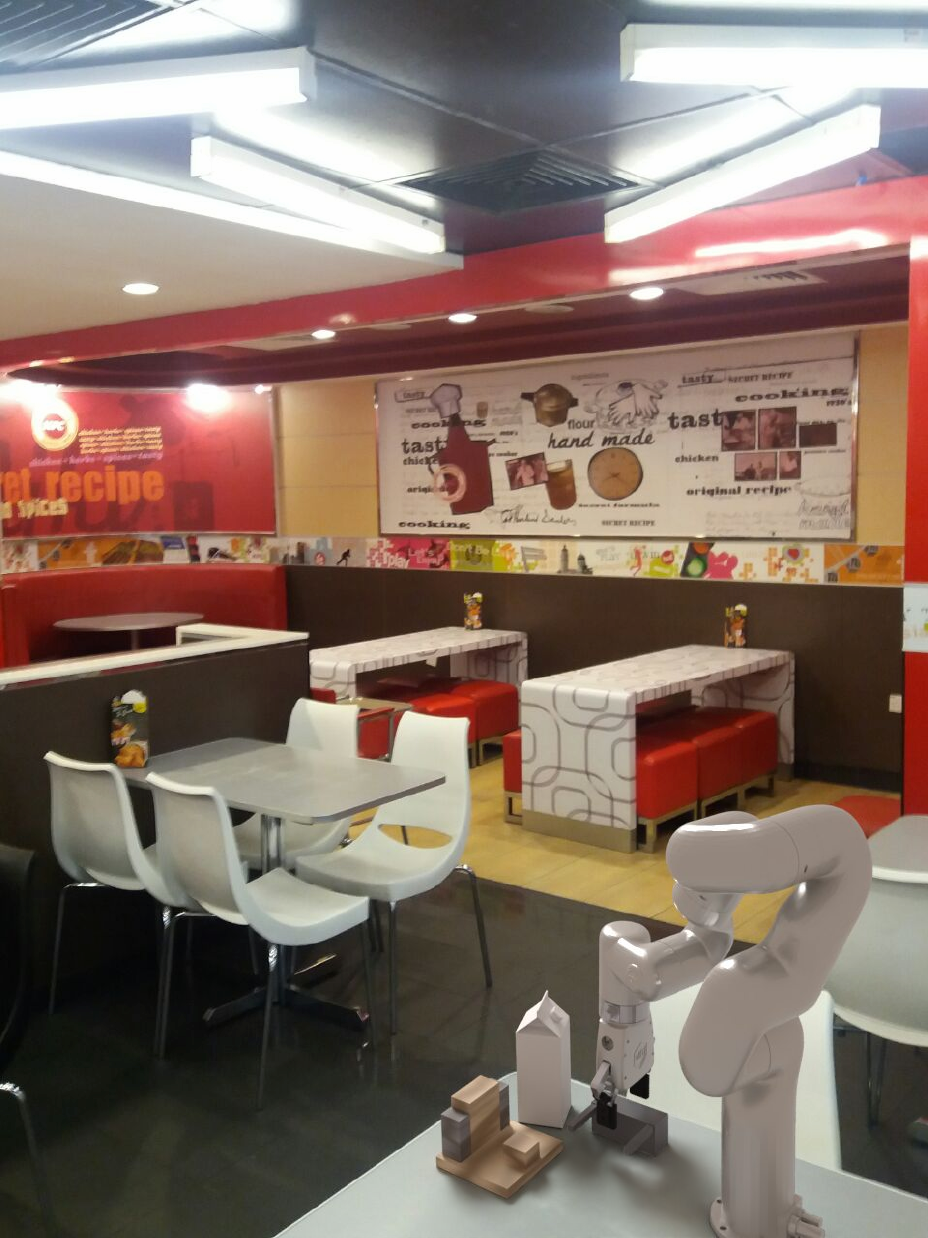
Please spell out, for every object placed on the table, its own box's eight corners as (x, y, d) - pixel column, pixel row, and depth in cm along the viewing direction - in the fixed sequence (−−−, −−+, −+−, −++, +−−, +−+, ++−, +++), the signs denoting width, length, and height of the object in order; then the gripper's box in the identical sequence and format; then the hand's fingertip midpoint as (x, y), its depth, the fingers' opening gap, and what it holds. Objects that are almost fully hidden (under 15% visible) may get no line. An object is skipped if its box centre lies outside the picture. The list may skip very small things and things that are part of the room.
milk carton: (517, 1123, 176) (514, 1008, 174) (528, 1099, 183) (525, 988, 180) (562, 1129, 174) (560, 1013, 171) (571, 1104, 181) (569, 992, 178)
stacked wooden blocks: (562, 1150, 169) (561, 1090, 167) (507, 1199, 158) (505, 1136, 157) (492, 1121, 177) (491, 1064, 175) (436, 1166, 166) (433, 1105, 165)
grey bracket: (605, 1120, 176) (604, 1090, 176) (668, 1144, 170) (667, 1113, 169) (566, 1155, 168) (566, 1123, 167) (631, 1181, 161) (630, 1149, 160)
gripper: (616, 1037, 159) (615, 1148, 162) (674, 990, 173) (672, 1093, 175) (571, 1021, 164) (571, 1129, 167) (631, 976, 177) (630, 1077, 180)
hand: (623, 1110), depth 171 cm, fingers open, 9 cm apart
